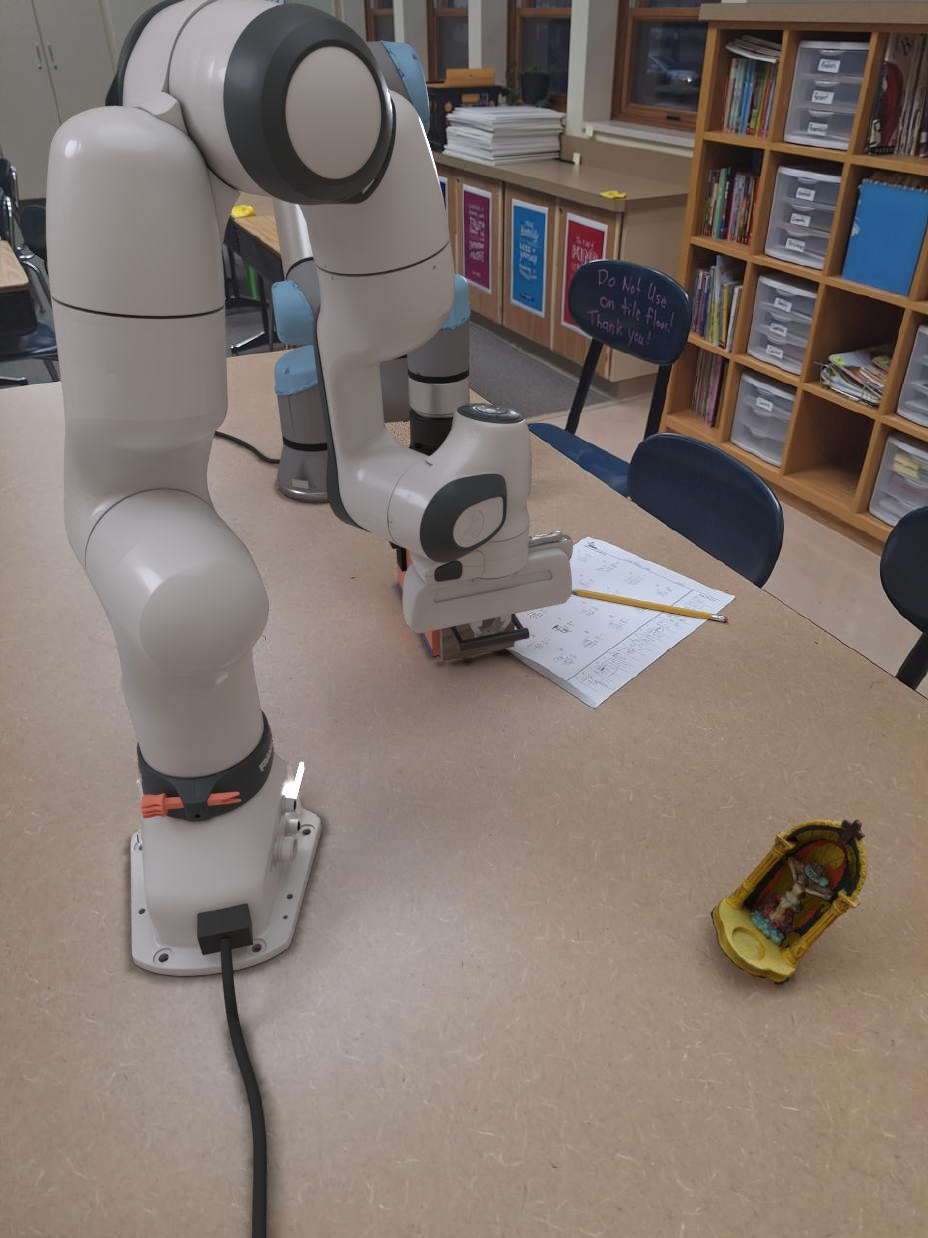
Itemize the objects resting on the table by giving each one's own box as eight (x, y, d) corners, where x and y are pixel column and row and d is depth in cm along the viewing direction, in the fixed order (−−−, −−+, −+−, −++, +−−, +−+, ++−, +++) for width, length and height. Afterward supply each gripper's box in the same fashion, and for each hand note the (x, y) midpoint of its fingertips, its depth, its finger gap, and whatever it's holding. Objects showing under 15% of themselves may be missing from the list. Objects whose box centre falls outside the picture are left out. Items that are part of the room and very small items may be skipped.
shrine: (791, 892, 81) (830, 781, 73) (851, 966, 75) (901, 853, 66) (686, 929, 78) (714, 817, 69) (739, 1009, 72) (776, 896, 63)
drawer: (531, 674, 107) (534, 615, 101) (456, 690, 104) (456, 630, 99) (474, 582, 124) (474, 528, 119) (409, 594, 121) (406, 539, 116)
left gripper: (562, 516, 102) (556, 611, 110) (395, 546, 96) (401, 644, 104) (585, 542, 97) (577, 640, 105) (410, 575, 91) (415, 675, 99)
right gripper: (516, 386, 112) (512, 533, 125) (340, 407, 106) (354, 559, 119) (538, 406, 106) (531, 558, 119) (352, 430, 100) (366, 588, 113)
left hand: (488, 642), depth 105 cm, fingers closed, pressing on drawer
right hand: (442, 559), depth 119 cm, fingers closed on cabinet, 11 cm apart
